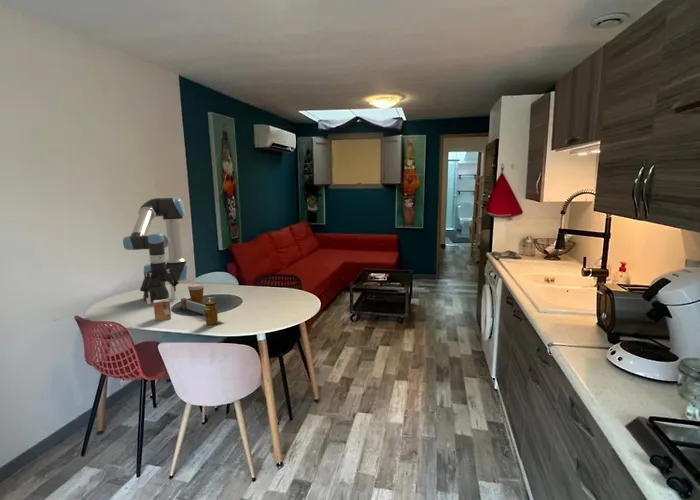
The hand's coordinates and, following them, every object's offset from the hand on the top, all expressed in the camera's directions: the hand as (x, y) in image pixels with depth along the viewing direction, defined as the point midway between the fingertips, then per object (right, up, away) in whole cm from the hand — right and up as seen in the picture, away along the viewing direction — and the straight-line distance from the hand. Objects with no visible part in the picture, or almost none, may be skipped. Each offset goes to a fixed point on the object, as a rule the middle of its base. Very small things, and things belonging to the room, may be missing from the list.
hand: (161, 300), depth 209 cm
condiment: (+31, -12, -6) cm, 34 cm away
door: (+14, -8, +12) cm, 20 cm away
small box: (0, -11, +2) cm, 11 cm away
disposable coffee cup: (+8, -6, +29) cm, 31 cm away
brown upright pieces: (+15, -9, +12) cm, 21 cm away
